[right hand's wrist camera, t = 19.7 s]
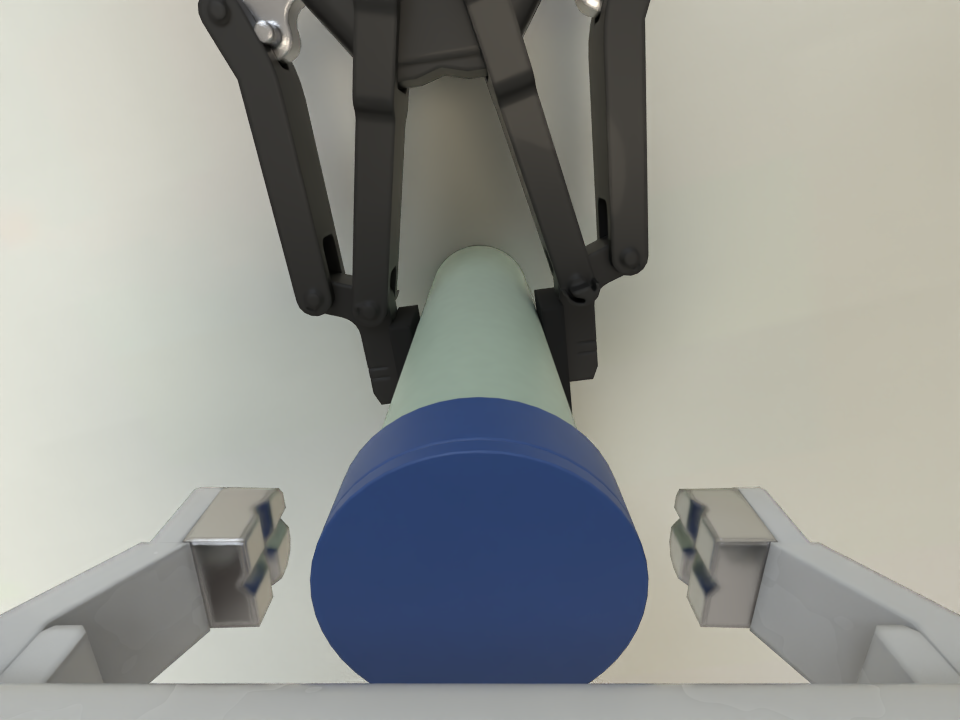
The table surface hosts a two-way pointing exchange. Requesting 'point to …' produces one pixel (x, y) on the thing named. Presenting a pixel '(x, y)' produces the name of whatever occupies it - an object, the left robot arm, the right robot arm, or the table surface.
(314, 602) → the lid
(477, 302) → the pale green cylinder
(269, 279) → the table surface
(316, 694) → the right robot arm
